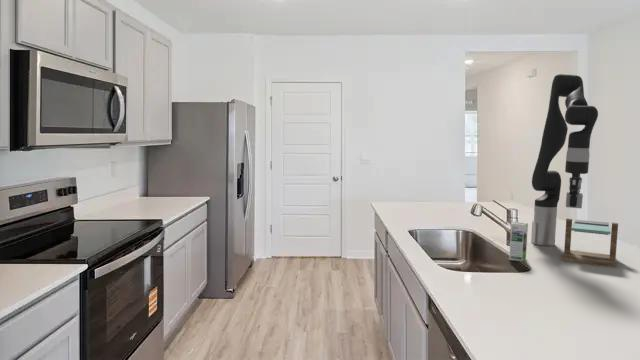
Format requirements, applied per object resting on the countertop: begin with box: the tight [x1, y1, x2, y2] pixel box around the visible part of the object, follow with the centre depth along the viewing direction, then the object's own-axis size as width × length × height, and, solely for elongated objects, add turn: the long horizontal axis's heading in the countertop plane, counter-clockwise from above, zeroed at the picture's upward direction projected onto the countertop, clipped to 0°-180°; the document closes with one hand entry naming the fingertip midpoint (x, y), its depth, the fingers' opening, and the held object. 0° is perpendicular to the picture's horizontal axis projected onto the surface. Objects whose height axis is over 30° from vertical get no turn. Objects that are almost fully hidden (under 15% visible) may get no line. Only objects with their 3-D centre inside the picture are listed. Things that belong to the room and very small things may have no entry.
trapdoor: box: [571, 219, 612, 236], centre depth 188 cm, size 20×13×4 cm, turn 149°
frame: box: [561, 218, 619, 269], centre depth 187 cm, size 19×18×14 cm
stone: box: [565, 191, 584, 209], centre depth 177 cm, size 5×5×5 cm
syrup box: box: [508, 221, 529, 262], centre depth 184 cm, size 6×6×14 cm
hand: (573, 205), depth 177 cm, fingers closed on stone, 5 cm apart
